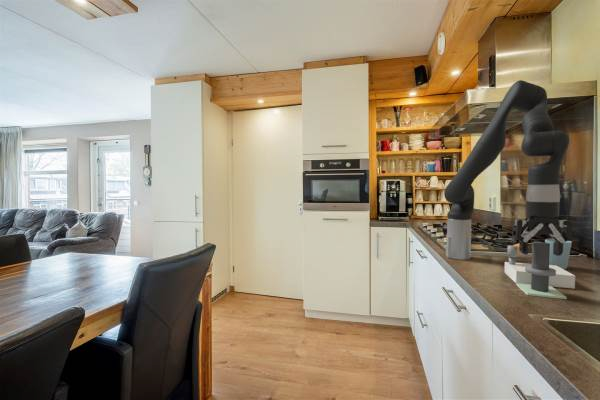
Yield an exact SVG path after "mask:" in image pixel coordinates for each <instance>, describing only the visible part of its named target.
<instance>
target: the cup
mask: <svg viewBox="0 0 600 400" xmlns="http://www.w3.org/2000/svg"><path fill="white" fill-rule="evenodd" d="M554 242H555V240H554V239H553V238H546V239H544V243H549V244H550V255H549V265H556V266H558V267H560V268H562V269H564V270H567V268H568V266H569V265H568V264H569V259H570V254H571V248H572V243H573V242H572V240H571V241H566V242H564V243H563V253H562V254H561V256H557V255H554V254H553V244H554Z"/></svg>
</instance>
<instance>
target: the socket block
mask: <svg viewBox="0 0 600 400" xmlns="http://www.w3.org/2000/svg"><path fill="white" fill-rule="evenodd" d="M516 260H517V257H508V261H504V274H506V276H508V278H509V279H511V280H512V281H513V282H514V283H515V284H517V283H519V284H530V285H531V273H528V272H526V271H525V266H528V265H532V263H529V262H528V263H525V262H517V261H516ZM549 268H552V269H555V270H556V275H555V276H549V286H552V287H553V288H555V287H556V288H565V289H574V290H575V289H576V275H574V274H573V273H571V272H570V271H567V269H562V268H560V267H558V266H556V265H549Z"/></svg>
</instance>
